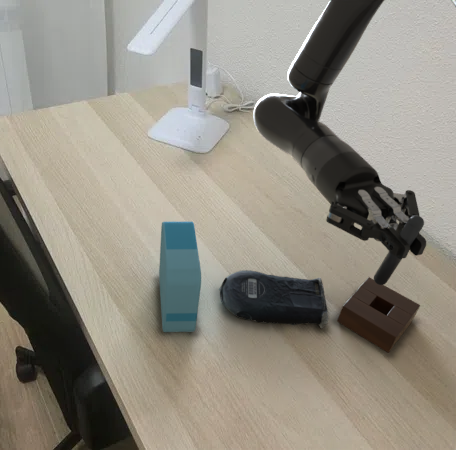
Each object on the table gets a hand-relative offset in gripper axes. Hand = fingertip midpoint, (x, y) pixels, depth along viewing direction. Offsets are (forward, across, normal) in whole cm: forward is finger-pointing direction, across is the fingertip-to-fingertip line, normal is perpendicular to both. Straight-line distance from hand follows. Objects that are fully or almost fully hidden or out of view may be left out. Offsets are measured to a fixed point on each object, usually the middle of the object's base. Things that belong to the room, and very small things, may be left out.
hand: (413, 251), depth 67 cm
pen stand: (-3, +2, +17) cm, 17 cm away
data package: (-13, -25, +17) cm, 33 cm away
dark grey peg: (-3, 0, +8) cm, 9 cm away
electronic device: (-10, -12, +17) cm, 23 cm away
